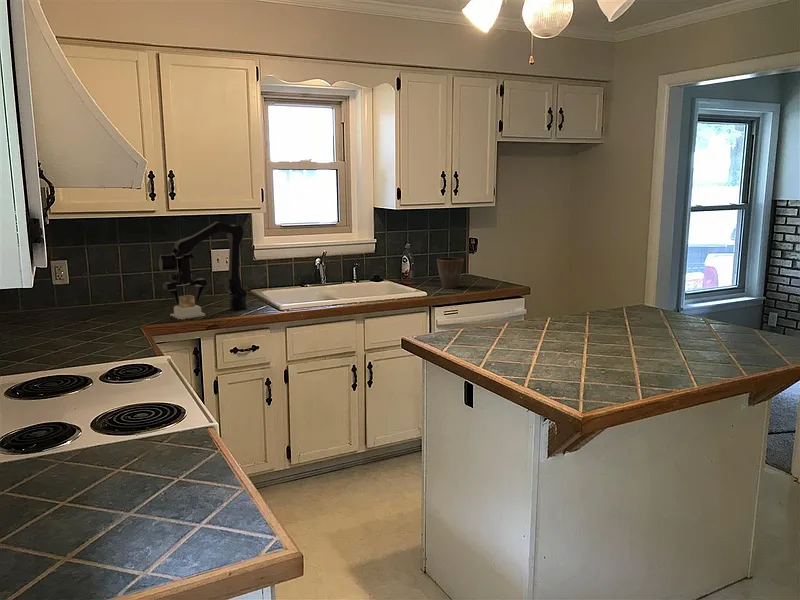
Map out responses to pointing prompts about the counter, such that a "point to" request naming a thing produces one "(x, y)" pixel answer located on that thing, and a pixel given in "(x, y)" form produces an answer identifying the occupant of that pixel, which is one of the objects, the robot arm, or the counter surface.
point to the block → (186, 301)
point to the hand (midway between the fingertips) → (187, 302)
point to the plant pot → (450, 271)
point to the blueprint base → (187, 312)
